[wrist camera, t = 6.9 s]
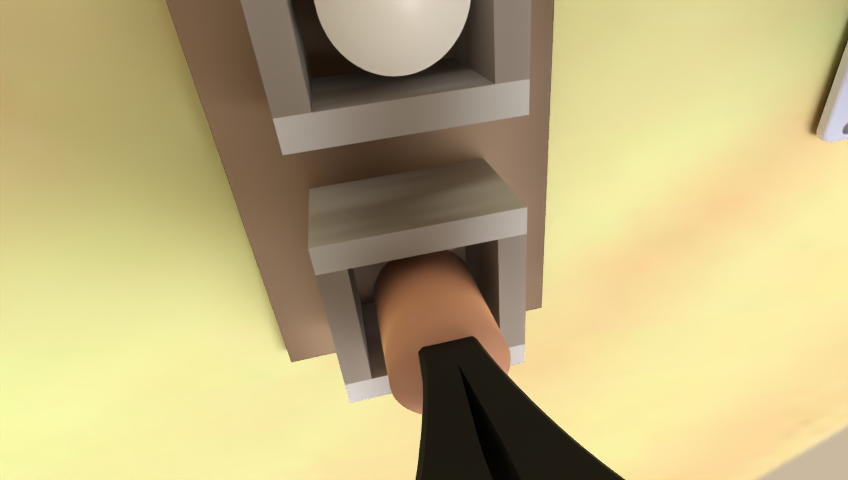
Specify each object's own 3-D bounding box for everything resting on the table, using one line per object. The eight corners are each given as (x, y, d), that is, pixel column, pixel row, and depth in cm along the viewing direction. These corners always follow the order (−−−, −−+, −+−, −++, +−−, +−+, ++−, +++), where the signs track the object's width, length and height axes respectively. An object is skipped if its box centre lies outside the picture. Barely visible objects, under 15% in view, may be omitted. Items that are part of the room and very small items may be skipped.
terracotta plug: (467, 237, 13) (510, 310, 11) (473, 316, 15) (510, 399, 12) (365, 257, 13) (380, 339, 10) (381, 336, 15) (397, 426, 12)
